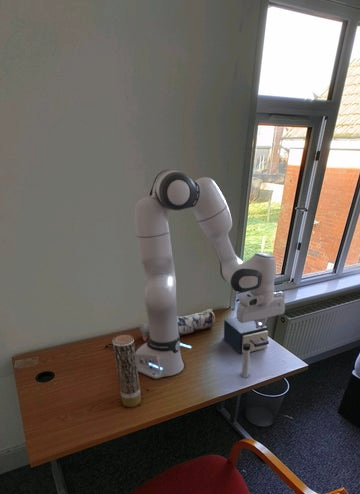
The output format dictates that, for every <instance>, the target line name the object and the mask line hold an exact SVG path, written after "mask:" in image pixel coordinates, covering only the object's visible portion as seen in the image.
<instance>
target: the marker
mask: <svg viewBox="0 0 360 494" xmlns="http://www.w3.org/2000/svg"><path fill="white" fill-rule="evenodd" d="M250 355H251V352H250V344H248V343H245V344H243V353H242V365H241V366H242V368H241V376H242V377H243V378H249V369H250Z"/></svg>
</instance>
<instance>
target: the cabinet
mask: <svg viewBox="0 0 360 494" xmlns="http://www.w3.org/2000/svg"><path fill="white" fill-rule="evenodd" d="M258 323H261V321H259V322H258ZM262 330H263V331H266V330H267V331H268V327H267V326H266V325H264V328H260V329H257V328H256V323H255V322H254V321H250V322H246V323H241V322H239V321H238V320H237V318H236V316H235V317H230V318H226V319H224V321H223V340H224V341H225V342H227V343H228V345H230V346H231V347H232V348H233V349H234V350H235V351H236V352H237V353H238V354H239V355H241V354H243V353H242V336H243V335H244V334H249V333H253V332H257V331H262Z"/></svg>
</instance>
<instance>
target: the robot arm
mask: <svg viewBox="0 0 360 494" xmlns="http://www.w3.org/2000/svg"><path fill="white" fill-rule="evenodd" d="M186 209H190V210H191V212H192V213H193V215H194V218H195V220H196V221H197V224H198V226H199V227H200V229H201V231H202V232H203V234H204V235H205V237H206V238H207V239H208V240H209V241H210V242H211V244H212V246H213V248H214V251H215V253H216V255H217V257H218V260H219V273H220V277H222V279H223V280H224V281H225V282H226V283H227V284H228V285H229V286H230V287H231V288H232V289H233V290H234V291H235V292H237V293H242V294H241V295H239V296H238V301H239V303H238V304H237V306H236V314H235V315H236V316H235V317H236V318H237V320H238V321H239V322H241V323H246V322H250V321H254V322H255V323H256V328H257V329H260V328H264V325H265V324H266V323H267V321H268V318H272V317H276V316H280V315H283V314H284V313H285V312H286V304H285V301H286V300H285V298H286V294H285V293H284V292H283V291H278V292H275V281H276V274H277V262H276V261H277V260H276V257H275V256H273V254H270V253H267V252H261V251H260V252H255V253H254V254H253V255H252V256H251V257H250V258H249V259H248V260H247V259H246V260H245V261H243V259H241V258H240V257H239V256H237V254H236V253H235V250H234V248H233V245H232V242H231V239H230V237H229V232H230V231H231V229H232V227H233V219H232V215H231V211H230V209H229V206H228V204H227V201H226V198H225V196H224V195H223V193H222V191H221V190H220V188H219V186H218V185H217V183H216V181H215V180H214V179H212V178H211V177H208V176H207V177H206V176H204V177H200V178H198V179H195V180H194V179H192V178H191V177H190V176H188V175H187V174H185V173H184V172H182V171H181V170H180V171H179V170H178V169H164V170H162V171H161V172H159V173H158V174H157V175H156V176H155V179H154V180H153V183H152V187H151V189H150V192H149V196H145V197H142V198H140V199H139V200H138V201H137V202H136V203H135V205H134V228H135V234H136V241H137V242H136V243H137V247H138V253H139V259H140V262H141V265H142V268H143V271H144V272H143V273H144V277H145V286H144V290H143V291H144V292H143V297H144V304H145V310H146V315H147V321H148V324H149V331H150V333H148V334H146V336H145V339H144V340H143V341H144V343H143V344H140V345H138V346H135V352H136V360H137V369H138V373H141V374H143V375H145V376H147V377H149V378H151V379H154V380H155V379H157V380H158V379H161V378H163V377H171V376H174V375H177V374H179V373H181V372H182V371H183V370H184V368H185V363H184V362H183V357H182V354H181V346H182V347H185V348H189V349H192V346H191V345H187V344H184V343H182V342H181V338H180V337H181V336H180V335H179V333H178V306H177V305H178V303H177V278H176V271H175V263H174V257H173V251H172V242H171V234H170V233H171V232H170V226H169V215H170V212H171V210H172V211H182V210H186ZM260 320H261V321H260ZM258 322H261V323H258ZM265 326H266V325H265ZM107 344H108V345H112V346H111V347H113V343H107ZM107 344H106V345H104V347H105V348H108V347H109V346H107Z"/></svg>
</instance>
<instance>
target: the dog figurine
mask: <svg viewBox="0 0 360 494" xmlns="http://www.w3.org/2000/svg"><path fill="white" fill-rule="evenodd" d="M139 331H140V333H141V336H142V341H145V340H144V339H145V338H146V337H147V335H148V334H150V331H149V323H147V324H146V323H144V322H143V323H141V324H140V326H139Z"/></svg>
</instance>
